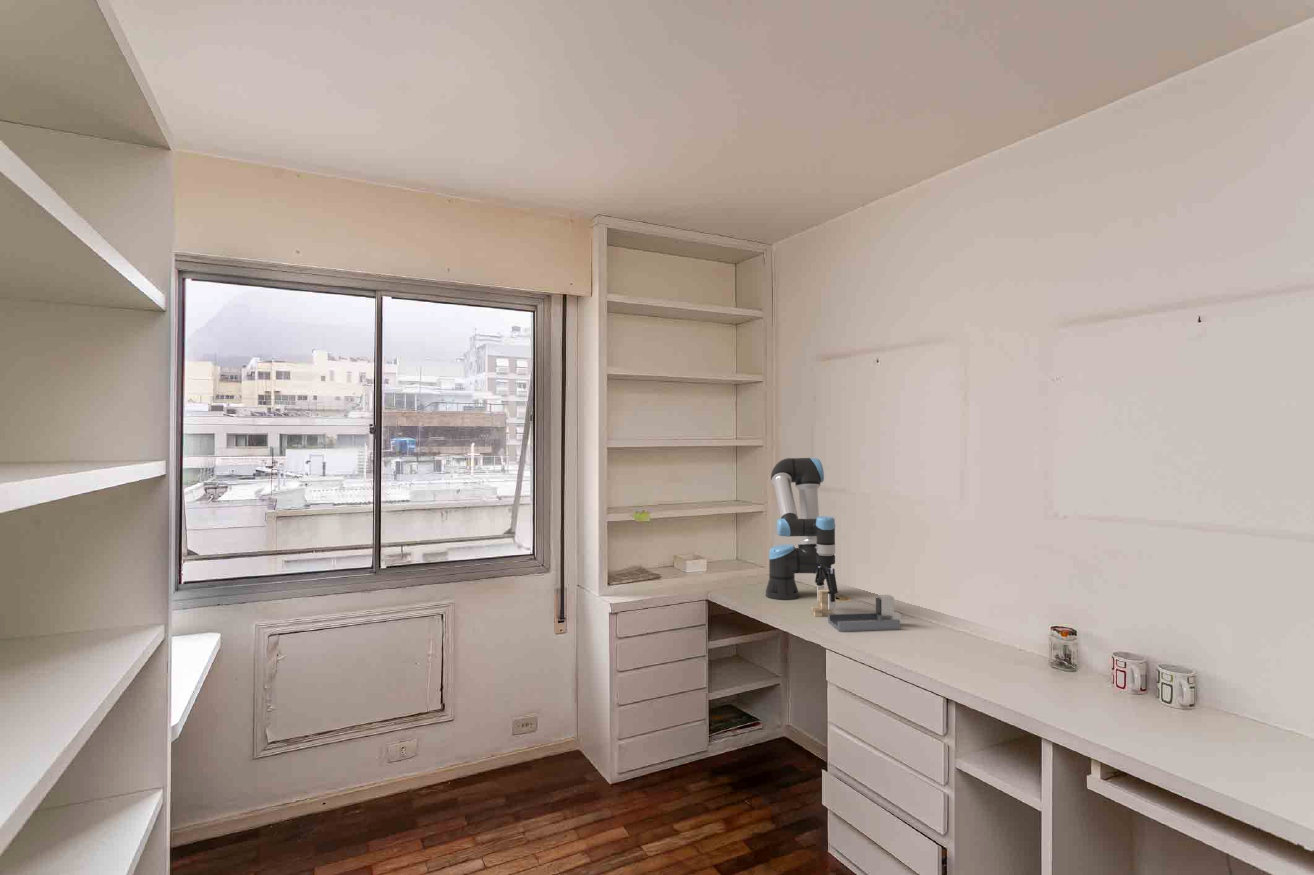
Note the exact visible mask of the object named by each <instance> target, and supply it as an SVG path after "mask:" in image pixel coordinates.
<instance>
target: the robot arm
mask: <svg viewBox="0 0 1314 875" xmlns="http://www.w3.org/2000/svg"><path fill="white" fill-rule="evenodd" d="M824 479H825V474H824V467H823V464H822V462H821V460H820V459H819V458H818V457H817V458H816V457H814V458H813V457H793V458H792V457H787V458H784V459H782V460H780V461H778V462H777V463H776V464H775V466H774V467H773V468H772V471H771V474H770V481H771V482H770V483H771V486H773V487H774V492H775V496H776V501H777V507H778V513H779V518H778V519H777V520H776V531H777V532H776V533H777V535H778V536H780V537H800V538H801V539H800V541H799V542H798V544H797V546H798V547H795V545H794V544H779V545H778V544H777V545H773V546H772V547H771V548H769V551H768V552H769V553H768V565H769V566H768V569H769V570H768V571H769V575H768V578H769V579H768V581H767V586H766V587H765V588H766V589H765V596H766V597H767V598H770V599H773V600H774V599H775V600H782V601H783V600H786V601H787V600H795V599H797V598H799V597H800V596H799V593H800V592H799V589H798V585H797V583H796V576H795V575H796V574H814V575H815V579H814V582H815V584H816V590H817V591H816V594H817V596H816V598H817V599H816V601H817V602H819V590H825V583H826V585H827V590H829V592H828V609H829V610H836V607H837V606H836V604H837V603H836V595H837V594H838V592H839V591H838V585H837V580H836V579H837V578H836V575H835V574H836V572H835V568H832V565H835V564H836V555H835V554H836V523H835V518H834V517H833V516H825V515H823V516H820V515H819V514H820V510H819V494H818V489H819V488H820V487H821V483H823V482H824ZM792 483H795V484H794V486H795V488H796V489H797V490H798V495H799V496H798V499H799V517H800V518H799V517H798V511H797V507H796V502H795V497H794V493H793V488H792ZM825 581H826V582H825Z"/></svg>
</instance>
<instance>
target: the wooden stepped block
mask: <svg viewBox="0 0 1314 875" xmlns="http://www.w3.org/2000/svg"><path fill="white" fill-rule="evenodd" d="M828 592H829V589H824V590H819V601H818V606H811V615H812V616H814V617H815V618H817V617H818V618H820V617H821V618H822V617H828V614H835V611H834V610H835V609H834V610H829V609H828Z"/></svg>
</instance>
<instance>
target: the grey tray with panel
mask: <svg viewBox="0 0 1314 875" xmlns="http://www.w3.org/2000/svg"><path fill="white" fill-rule="evenodd" d="M827 619H828V620H827V623H828V624H829V625H831V626H832V627H833V628H834V629H835V630H837V631H838V632H839V633H842V632H843V633H844V632H870V631H871V632H873V631H894V630H895V631H896V630H900V629H901V623H902V614H901V613H899V612H898V611H895V598H894V596H892V595H891V594H877V595H876V597H875V612H849V613H848V612H847V613H846V612H845V613H843V612H842V613H834V614H828V616H827Z"/></svg>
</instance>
